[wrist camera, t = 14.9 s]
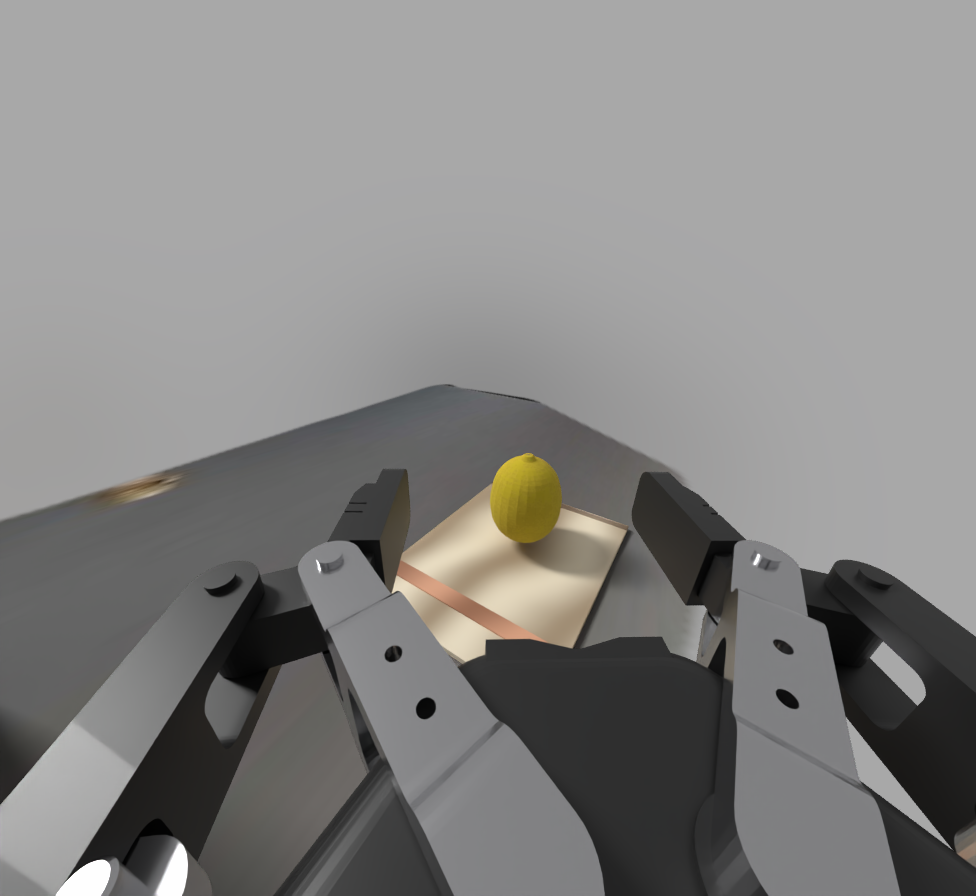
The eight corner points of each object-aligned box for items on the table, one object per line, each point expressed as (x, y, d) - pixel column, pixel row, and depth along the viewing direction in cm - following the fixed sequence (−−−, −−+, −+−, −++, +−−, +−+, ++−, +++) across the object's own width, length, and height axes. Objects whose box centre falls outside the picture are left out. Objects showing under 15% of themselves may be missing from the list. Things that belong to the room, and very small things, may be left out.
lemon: (541, 517, 32) (549, 437, 29) (567, 559, 27) (580, 468, 24) (482, 524, 31) (483, 442, 28) (498, 569, 26) (501, 476, 23)
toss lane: (357, 592, 24) (356, 587, 24) (495, 483, 38) (495, 479, 38) (541, 717, 17) (542, 711, 17) (627, 529, 31) (628, 525, 31)
